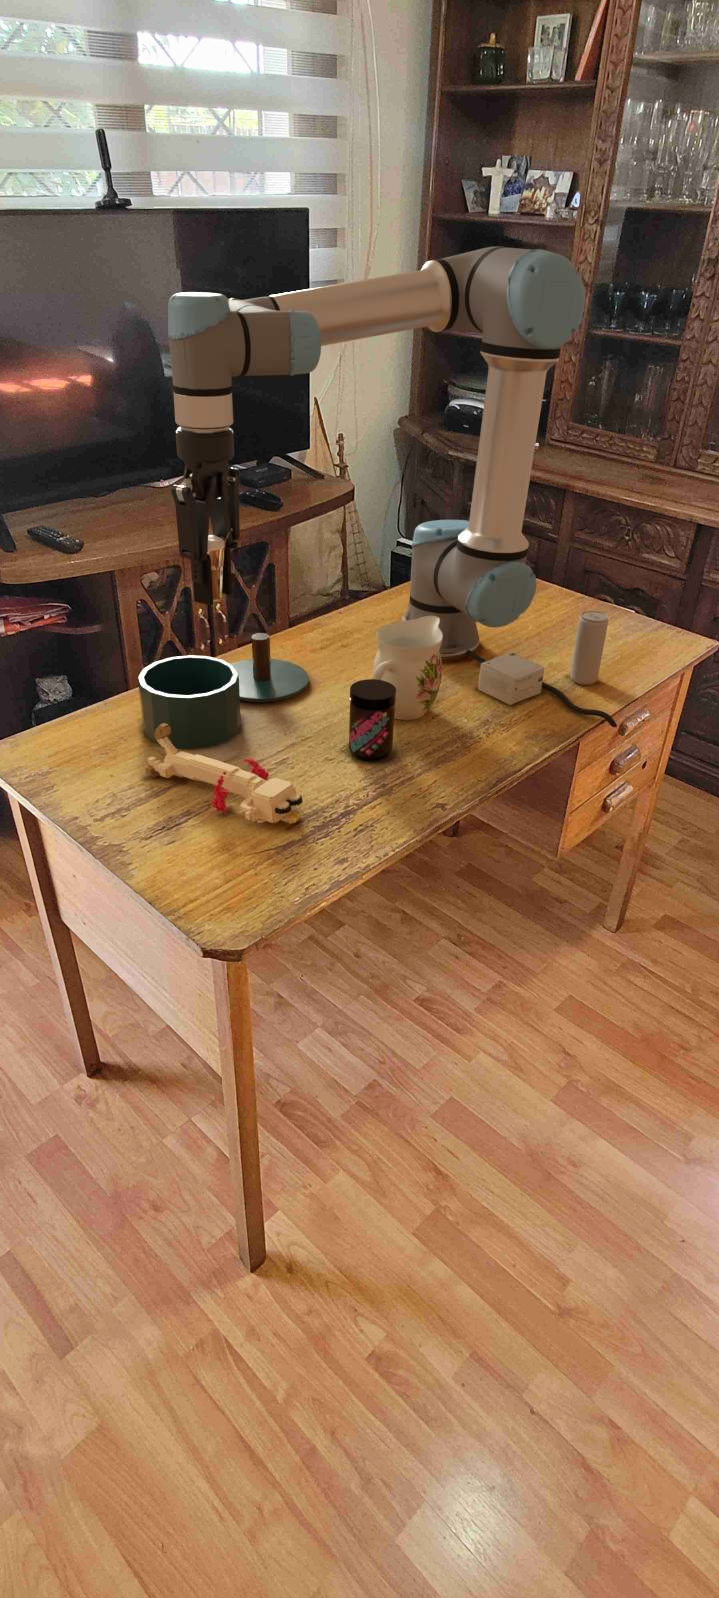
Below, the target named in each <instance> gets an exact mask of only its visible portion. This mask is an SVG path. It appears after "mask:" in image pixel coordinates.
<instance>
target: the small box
mask: <svg viewBox="0 0 719 1598" xmlns="http://www.w3.org/2000/svg"><path fill="white" fill-rule="evenodd" d="M544 673H545V666H543V665H541V664H540V663H537V662H534V661H532V660H529V659H528V658H525V657H523V656H521V655H520V654H517V653H515V652H510V653H506V654H504V655H501V656H495V657H493V658H492V659H489V660H486V662H483V663H480V668H479V674H478V675H479V677H478V684H477V689H478V691H481V692H482V693H484V694H486V695H488V696H490V697H492V698H495V699H497V700H499V701H501V702H502V703H504V704H507V705H508V706H512V705H514V704H516V703H519V702H521V701H523V700H527V699H529V698H531V697H534V696H538V695H540V694H541V693H542V682H544V681H543V680H544Z"/></svg>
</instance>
